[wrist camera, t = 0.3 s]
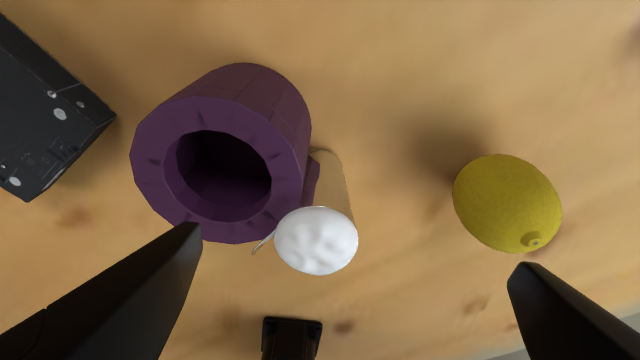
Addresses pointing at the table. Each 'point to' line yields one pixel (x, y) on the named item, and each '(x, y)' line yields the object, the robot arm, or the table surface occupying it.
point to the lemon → (507, 203)
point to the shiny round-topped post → (318, 221)
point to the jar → (225, 153)
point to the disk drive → (41, 115)
